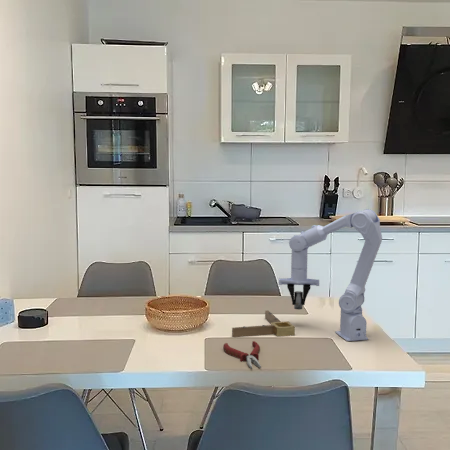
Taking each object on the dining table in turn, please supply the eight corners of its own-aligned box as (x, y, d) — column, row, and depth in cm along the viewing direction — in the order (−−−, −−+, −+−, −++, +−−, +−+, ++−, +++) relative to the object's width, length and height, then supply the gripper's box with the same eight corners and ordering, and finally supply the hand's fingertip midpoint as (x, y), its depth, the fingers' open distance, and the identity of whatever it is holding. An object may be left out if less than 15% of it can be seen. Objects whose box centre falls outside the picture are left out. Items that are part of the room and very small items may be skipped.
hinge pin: (303, 309, 196) (304, 293, 195) (295, 309, 195) (296, 293, 194) (300, 307, 199) (300, 291, 198) (292, 307, 198) (293, 291, 197)
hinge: (294, 335, 188) (294, 326, 187) (234, 339, 183) (234, 330, 182) (274, 317, 208) (274, 309, 208) (220, 321, 203) (220, 312, 203)
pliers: (237, 373, 155) (237, 364, 155) (222, 349, 174) (222, 341, 174) (275, 370, 158) (275, 361, 157) (256, 347, 177) (256, 339, 177)
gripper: (318, 266, 198) (317, 302, 200) (279, 265, 200) (278, 300, 201) (320, 269, 191) (319, 307, 193) (278, 268, 193) (278, 305, 194)
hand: (298, 304), depth 197 cm, fingers closed on hinge pin, 3 cm apart
